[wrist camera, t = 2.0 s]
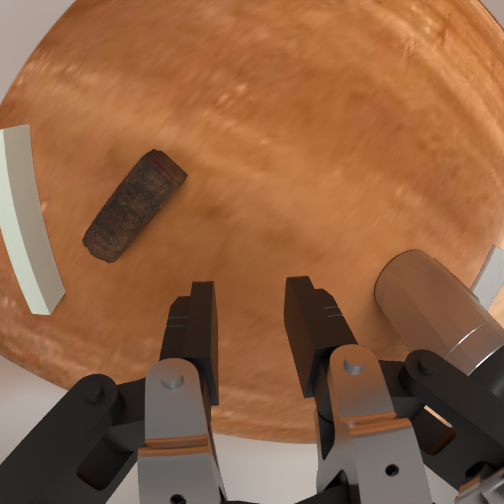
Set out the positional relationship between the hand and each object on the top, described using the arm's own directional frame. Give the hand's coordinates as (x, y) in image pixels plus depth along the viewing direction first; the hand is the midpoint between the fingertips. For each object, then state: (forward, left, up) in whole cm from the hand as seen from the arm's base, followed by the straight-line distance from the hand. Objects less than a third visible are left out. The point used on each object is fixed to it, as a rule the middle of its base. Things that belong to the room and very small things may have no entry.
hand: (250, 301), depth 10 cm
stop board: (+23, +1, -17) cm, 28 cm away
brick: (+9, +1, -17) cm, 20 cm away
